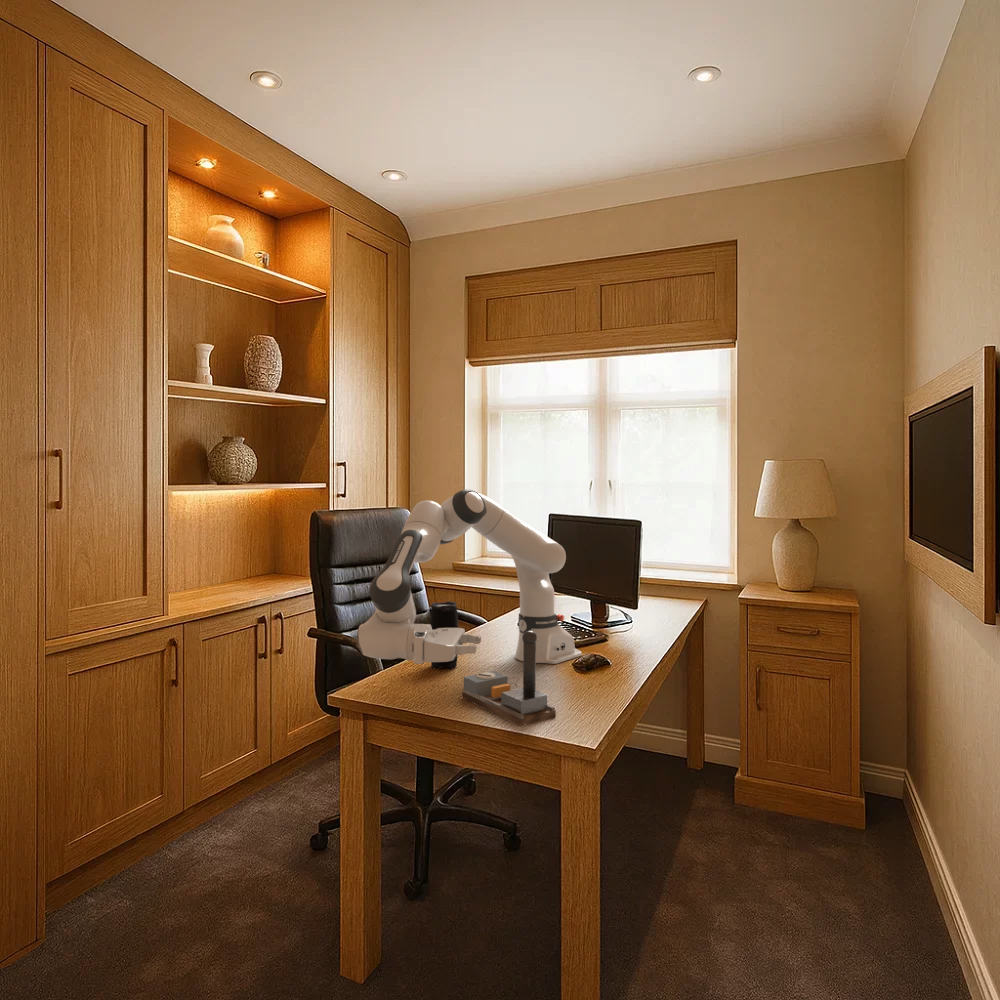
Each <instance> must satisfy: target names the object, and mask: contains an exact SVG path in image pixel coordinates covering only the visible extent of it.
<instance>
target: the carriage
mask: <svg viewBox="0 0 1000 1000" xmlns="http://www.w3.org/2000/svg"><path fill="white" fill-rule="evenodd" d="M522 640H523V661H522V664H523V666H522V669H523V670H522V671H523V672H522V673H523V675H522V679H523V680H522V684H523V685H522V687H520V688H516V689H512V690H511V691H506V692H502V693H501V705H502V706H505V707H507V708H509V709H511V710H513V711H515V712H518V713H520V714H522V715H526V714H530V713H534V712H538V711H542V710H546V709H547V704H548V694H545V693H543V692H540V691H538V690H536V683H537V682H536V677H537V676H536V675H537V672H536V671H537V669H536V666H537V665H536V664H537V663H536V641H537V635H536V633H535V632H533V631H526V632H525V633H524V634H523V636H522Z"/></svg>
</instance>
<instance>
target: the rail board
mask: <svg viewBox="0 0 1000 1000" xmlns="http://www.w3.org/2000/svg"><path fill="white" fill-rule="evenodd" d="M511 690H513V689H512V688H511ZM461 694H462V695H461V698H462V697H463V698H465V699H467V700H466V701H468V700H469V701H468V702H470V701H471V702H470V703H472V702H473V703H472V704H474V703H475V704H474V705H476V704H477V705H476V706H478V705H479V706H478V707H480V706H481V707H480V708H482V707H483V709H484V708H485V709H484V710H486V709H487V710H486V711H488V710H489V712H490V711H491V713H492V712H493V713H492V714H494V713H495V715H496V714H497V715H496V716H498V715H499V716H498V717H500V716H501V717H500V718H503V719H505V718H506V719H505V720H507V719H508V720H507V721H509V720H510V721H509V722H511V721H512V722H511V723H513V722H514V723H513V724H515V725H518V726H519V727H521V725H522V726H526V725H529V724H533V723H537V722H540V721H544V720H548V719H551V718H556V716H557V714H556V713H557V712H556V708H555V706H553V705H550V704H548V703H547V709H546V710H542V711H538V712H534V713H530V714H526V715H522V714H520V713H518V712H515V711H513V710H511V709H509V708H507V707H505V706H502V705H501V696H500V697H496V698H494V697H492V696H491V695H487V696H481V695H479V694H478V695H476V694H474V693H471V692H469V691H467V690H465V689H464V688H463V689H462V692H461ZM463 698H462V699H463ZM465 699H464V700H465ZM525 724H526V725H525Z"/></svg>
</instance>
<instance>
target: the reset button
mask: <svg viewBox="0 0 1000 1000" xmlns="http://www.w3.org/2000/svg"><path fill="white" fill-rule="evenodd" d="M511 689H512V688H511V684H509V683H508V684H503V685H498V686H494V687H491V696H492V697H494V698H496V697H500V696H501V693H502V692H506V691H511Z"/></svg>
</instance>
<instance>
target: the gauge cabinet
mask: <svg viewBox="0 0 1000 1000" xmlns="http://www.w3.org/2000/svg"><path fill="white" fill-rule="evenodd" d="M508 680H509V676H508V675H506V674H503V673H501V672H498V671H496V670H491V671H484V672H478V673H476V674H472V675H467V676H463V689H465V690H467V691H469V692H471V693H474V694H476V695H478V694H479V695H481V696H487V695H491V687H494V686H498V685H503V684H509V683H508V682H509V681H508Z"/></svg>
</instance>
